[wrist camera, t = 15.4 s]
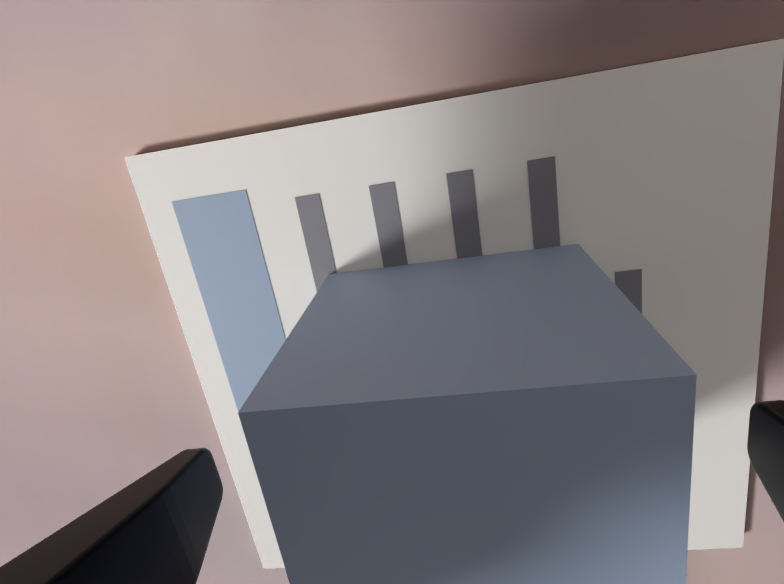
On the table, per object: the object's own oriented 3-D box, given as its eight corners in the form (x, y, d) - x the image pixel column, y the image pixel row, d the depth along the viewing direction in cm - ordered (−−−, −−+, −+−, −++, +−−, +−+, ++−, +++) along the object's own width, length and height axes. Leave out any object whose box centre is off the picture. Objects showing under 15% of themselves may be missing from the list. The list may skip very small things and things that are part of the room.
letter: (774, 40, 9) (786, 38, 8) (736, 537, 12) (743, 548, 12) (132, 155, 10) (123, 157, 10) (267, 559, 14) (263, 569, 14)
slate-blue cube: (578, 243, 10) (696, 375, 5) (585, 455, 12) (679, 696, 7) (328, 274, 11) (237, 412, 6) (369, 469, 12) (324, 696, 8)
